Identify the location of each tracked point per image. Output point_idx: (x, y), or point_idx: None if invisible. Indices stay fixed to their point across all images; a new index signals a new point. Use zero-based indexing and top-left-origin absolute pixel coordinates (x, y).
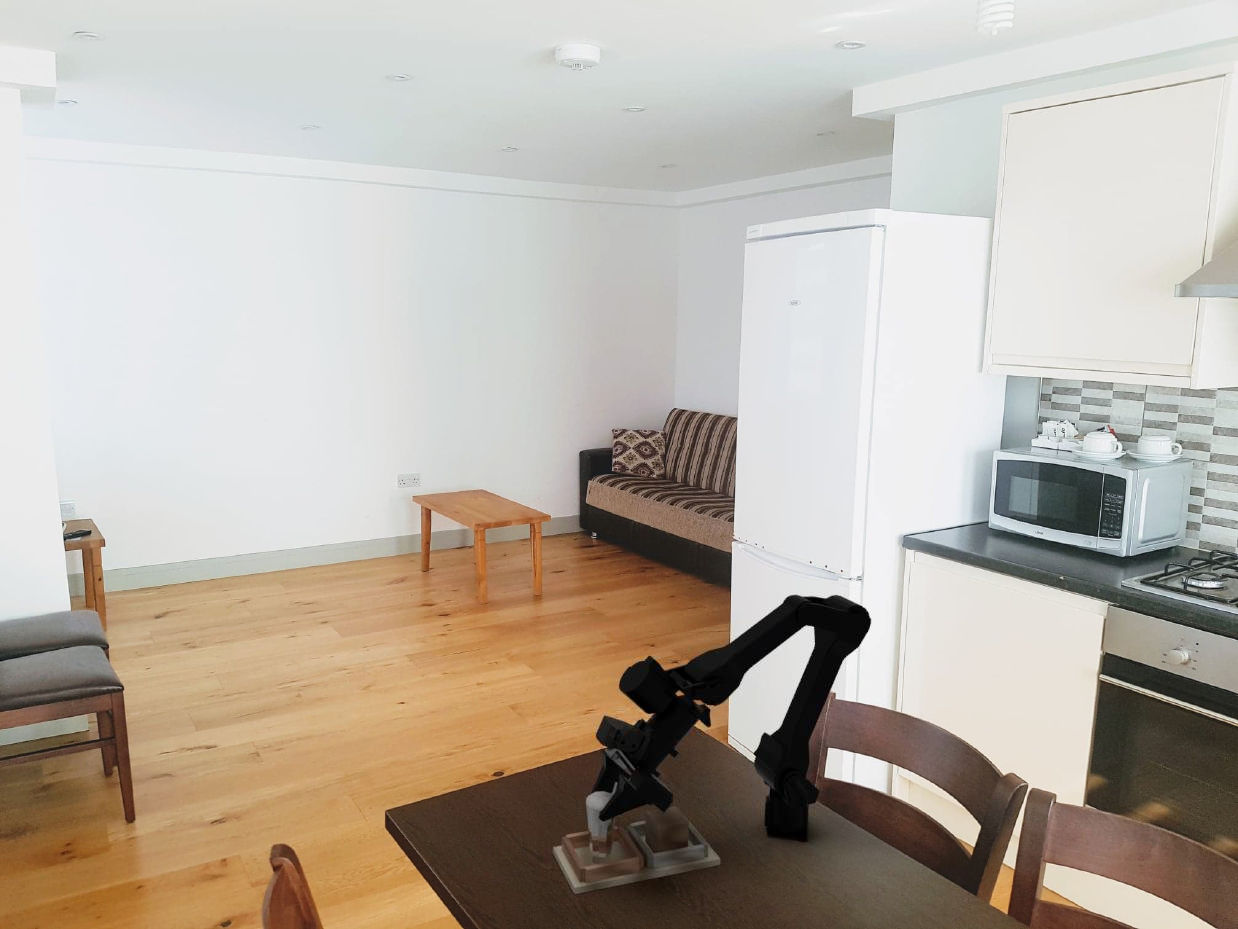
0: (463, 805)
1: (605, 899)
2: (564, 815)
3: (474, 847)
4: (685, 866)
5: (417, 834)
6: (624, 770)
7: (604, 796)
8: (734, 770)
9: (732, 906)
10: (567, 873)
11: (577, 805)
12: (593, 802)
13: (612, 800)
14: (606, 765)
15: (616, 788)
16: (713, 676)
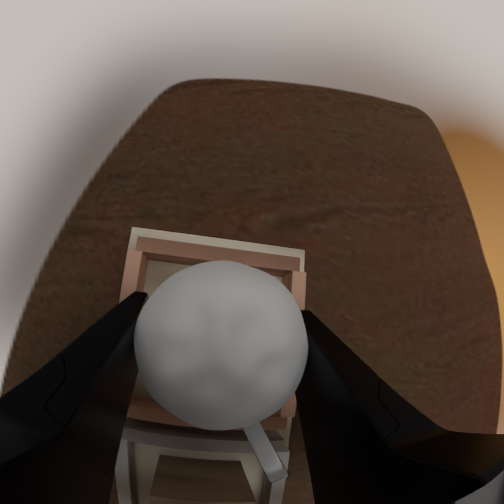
0: (452, 187)
1: (91, 283)
2: (411, 329)
3: (357, 144)
4: (116, 482)
5: (396, 108)
6: None
7: (207, 364)
8: None
9: None
10: (189, 235)
11: (428, 363)
12: (188, 277)
13: (71, 355)
14: (415, 462)
15: (309, 461)
16: None
